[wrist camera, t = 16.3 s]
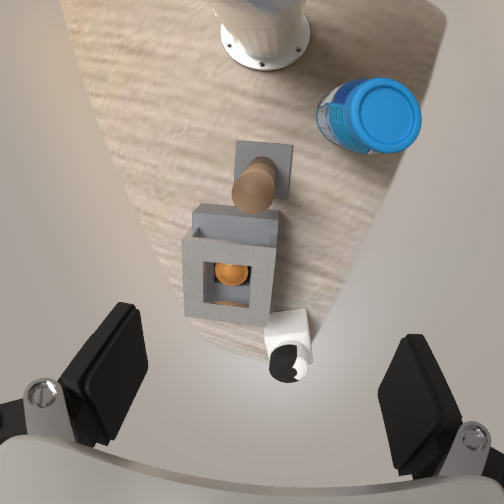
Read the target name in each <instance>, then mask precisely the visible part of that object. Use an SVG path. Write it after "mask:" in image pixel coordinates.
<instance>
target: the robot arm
mask: <svg viewBox="0 0 504 504" xmlns="http://www.w3.org/2000/svg"><path fill="white" fill-rule="evenodd" d="M205 1H206V2H207V3H208V4H209V6H210V7H211V8H212V10H213V11H214V13H215V14H216V16H217V17H218V19H219V20H220V22H221V23H222V26H221V39H222V43H223V46H224V48H225V50H226V51H227V52H228V54H229V55H230V56H231V57H232V58H233V59H234V60H235V61H237V62H238V63H239V64H241V65H243V66H245V67H248V68H251V69H255V70H262V71H270V70H277V69H281V68H284V67H286V66H288V65H290V64H292V63H293V62H295V61H296V60H297V59H298V58H299V57H301V56H302V54H303V53H304V51H305V50H306V48H307V45H308V43H309V39H310V26H309V22H308V20H307V18H306V16H305V14H304V13H303V10H304V4H305V0H205ZM230 46H232V48H229V47H230ZM296 50H300V52H297V51H296ZM262 64H264V65H265V66H264V67H262V66H261V65H262ZM147 370H148V360H147V354H146V348H145V342H144V336H143V330H142V323H141V316H140V311H139V310H138V309H136V307H135V305H133V304H128V303H123V302H118V303H117V304H116V306H115V307H114V308H113V310H112V311H111V312H110V313H109V315H108V316H107V317H106V318H105V320H104V321H103V322H102V323H101V325H100V326H99V327H98V329H97V330H96V331H95V333H93V334H92V335H91V336H90V337H89V339H88V340H87V341H86V343H85V344H84V345H83V347H82V348H81V349H80V351H79V352H78V353H77V355H76V356H75V357H74V359H73V360H72V361H71V363H70V364H69V365H68V367H67V368H66V370H65V371H64V372H63V374H62V375H61V377H60V378H59V379H58V381H55V380H53V379H50V378H40V379H37V380H34V381H33V382H31V383H30V384H29V385H28V386H27V387H26V389H25V391H24V395H23V398H22V399H19V400H15V401H11V402H7V403H3V404H0V504H504V454H503V453H501V452H499V451H498V450H496V449H494V448H492V447H490V446H491V436H490V433H489V432H488V430H487V429H486V428H485V427H484V426H483V425H482V424H480V423H478V422H474V421H469V422H465V423H464V424H463V422H462V420H461V419H462V415H461V413H460V411H459V408H458V406H457V404H456V401H455V399H454V397H453V395H452V393H451V390H450V388H449V386H448V384H447V382H446V380H445V378H444V375H443V373H442V371H441V369H440V367H439V365H438V363H437V361H436V359H435V357H434V355H433V353H432V351H431V349H430V347H429V345H428V343H427V341H426V340H425V337H424V336H423V335H422V334H407V336H406V337H405V338H402V339H401V341H400V344H399V346H398V348H397V350H396V353H395V355H394V357H393V359H392V361H391V364H390V366H389V368H388V370H387V372H386V374H385V376H384V378H383V380H382V382H381V384H380V387H379V389H378V399H379V403H380V407H381V411H382V415H383V420H384V424H385V428H386V433H387V437H388V442H389V446H390V451H391V456H392V461H393V466H394V468H395V469H398V473H399V476H403V475H409V474H412V477H413V480H410V481H404V482H395V483H387V484H378V485H367V486H354V487H333V488H332V487H331V488H298V487H275V486H262V485H252V484H242V483H234V482H227V481H219V480H213V479H208V478H202V477H196V476H191V475H186V474H182V473H177V472H172V471H168V470H164V469H160V468H156V467H152V466H148V465H145V464H141V463H138V462H134V461H131V460H128V459H124V458H120V457H117V456H115V455H111V454H108V453H105V452H103V451H100V450H97V449H94V448H93V447H94V446H95V444H96V442H97V443H99V444H102V445H105V446H108V444H109V442H110V440H114V439H115V438H116V436H117V434H118V432H119V430H120V428H121V425H122V423H123V421H124V419H125V417H126V415H127V412H128V411H129V408H130V406H131V404H132V402H133V400H134V398H135V396H136V393H137V392H138V389H139V387H140V385H141V383H142V381H143V379H144V377H145V375H146V373H147Z"/></svg>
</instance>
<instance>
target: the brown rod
mask: <svg viewBox="0 0 504 504" xmlns="http://www.w3.org/2000/svg"><path fill="white" fill-rule="evenodd" d="M275 177H276V166H275V164H274V162H273V161H272V160H271V159H269V158H267V157H257V158H255V159H254V160H252V161H251V163H250V164H249V165H248V167H247V168H246V169H245V171H244V172H243V173H242V174H241V176H240V177H239V178H238V180H237V181H236V182H235V184H234V186H233V189H232V199H233V202H234V204H235V206H236V207H237V208H238V209H239V210H241V211H242V212H244V213H246V214H251V215H255V214H260V213H262V212H264V211H266V210H267V209H268V208H269V207H270V205H271V204H272V201H273V197H274V187H275Z"/></svg>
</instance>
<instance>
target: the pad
mask: <svg viewBox="0 0 504 504" xmlns="http://www.w3.org/2000/svg"><path fill="white" fill-rule="evenodd" d="M291 155H292V145H287V144H276V143H265V142H252V141H236V155H235V172H234V184H235V182H236V181H237V180H238V178H239V177H240V176H241V174H242V173H243V172H244V171H245V169H246V168H247V167H248V165H249V164H250V163H251V161H252V160H254V159H255V158H257V157H267V158H269V159H271V160H272V161H273V162H274V164H275V166H276V177H275V187H274V198H284V199H287V196H288V186H289V176H290V165H291Z"/></svg>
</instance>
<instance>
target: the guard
mask: <svg viewBox="0 0 504 504" xmlns="http://www.w3.org/2000/svg"><path fill="white" fill-rule="evenodd" d="M198 234H199V227H195V226H192V227H191V228H190V230H189V231H188V232H187V233H186V235H185V236H184V237H183V238H182V266H183V291H184V310H185V316H186V317H193V318H200V319H208V320H215V321H223V322H231V323H240V324H248V325H258V326H267V327H268V320H269V311H270V303H271V294H272V286H273V277H274V268H275V259H276V249H277V234H270V239H269V244H260V243H249V242H239V241H229V240H218V239H208V238H197V236H198ZM205 261H206V262H215V263H224V264H234V265H243V266H252V278H251V291H250V304H243V303H234V302H225V301H217V300H209V299H205Z"/></svg>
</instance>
